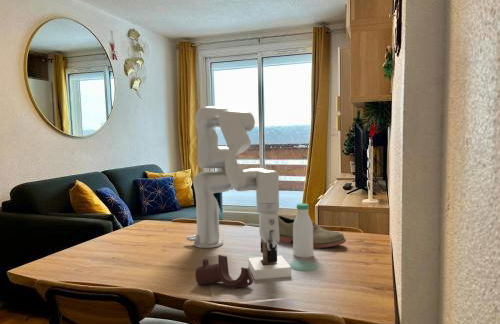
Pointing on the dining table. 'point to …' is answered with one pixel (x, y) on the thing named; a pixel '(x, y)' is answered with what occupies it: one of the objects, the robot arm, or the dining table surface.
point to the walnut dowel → (266, 254)
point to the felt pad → (303, 266)
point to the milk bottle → (303, 233)
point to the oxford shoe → (319, 234)
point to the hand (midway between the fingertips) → (268, 257)
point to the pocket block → (269, 268)
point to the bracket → (221, 274)
